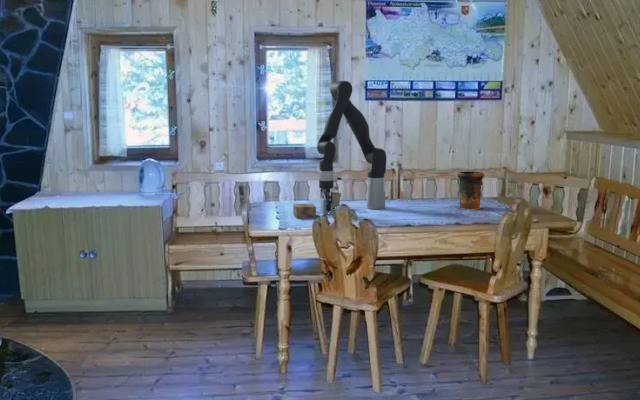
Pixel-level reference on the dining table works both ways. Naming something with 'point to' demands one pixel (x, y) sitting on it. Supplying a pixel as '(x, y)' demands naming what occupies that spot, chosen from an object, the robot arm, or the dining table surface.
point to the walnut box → (304, 210)
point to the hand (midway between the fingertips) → (326, 209)
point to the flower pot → (335, 199)
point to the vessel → (470, 189)
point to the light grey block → (323, 206)
